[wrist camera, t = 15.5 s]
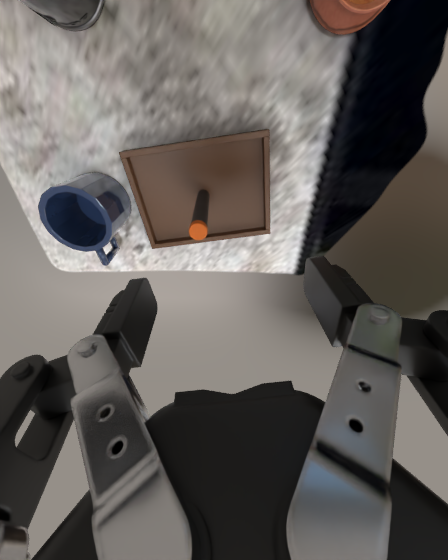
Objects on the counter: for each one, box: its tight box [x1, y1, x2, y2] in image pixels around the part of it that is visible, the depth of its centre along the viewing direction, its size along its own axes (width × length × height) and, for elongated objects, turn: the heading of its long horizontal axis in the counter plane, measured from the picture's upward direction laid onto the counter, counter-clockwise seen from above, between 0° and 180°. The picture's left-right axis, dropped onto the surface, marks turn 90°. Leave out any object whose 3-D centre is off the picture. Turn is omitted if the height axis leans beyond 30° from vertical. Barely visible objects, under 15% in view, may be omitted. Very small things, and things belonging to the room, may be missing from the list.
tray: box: [119, 129, 270, 249], centre depth 37 cm, size 16×22×2 cm
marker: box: [189, 190, 209, 240], centre depth 32 cm, size 2×2×15 cm
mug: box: [38, 172, 131, 266], centre depth 36 cm, size 13×9×9 cm
